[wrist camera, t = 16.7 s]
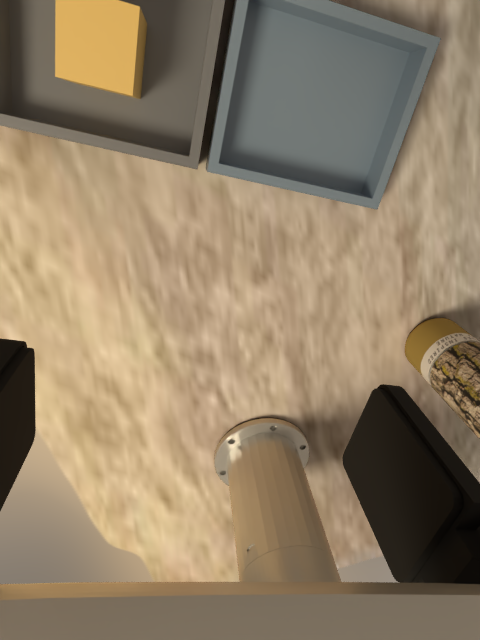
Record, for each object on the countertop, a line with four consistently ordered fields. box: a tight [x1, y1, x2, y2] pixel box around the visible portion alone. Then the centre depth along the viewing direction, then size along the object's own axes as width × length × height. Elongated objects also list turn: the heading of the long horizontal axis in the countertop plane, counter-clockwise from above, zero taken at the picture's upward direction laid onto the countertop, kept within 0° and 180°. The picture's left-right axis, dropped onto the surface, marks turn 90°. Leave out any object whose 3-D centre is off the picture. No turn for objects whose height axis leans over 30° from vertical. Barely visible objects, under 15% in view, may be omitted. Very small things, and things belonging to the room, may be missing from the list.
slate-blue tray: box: [206, 0, 441, 209], centre depth 32 cm, size 13×16×3 cm
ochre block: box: [55, 0, 147, 99], centre depth 27 cm, size 5×5×5 cm
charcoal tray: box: [0, 0, 225, 169], centre depth 28 cm, size 13×16×3 cm
